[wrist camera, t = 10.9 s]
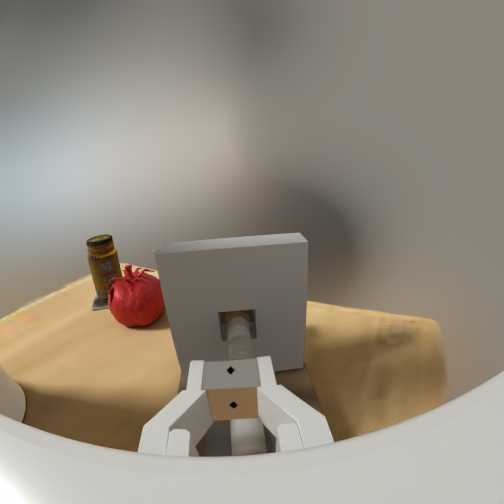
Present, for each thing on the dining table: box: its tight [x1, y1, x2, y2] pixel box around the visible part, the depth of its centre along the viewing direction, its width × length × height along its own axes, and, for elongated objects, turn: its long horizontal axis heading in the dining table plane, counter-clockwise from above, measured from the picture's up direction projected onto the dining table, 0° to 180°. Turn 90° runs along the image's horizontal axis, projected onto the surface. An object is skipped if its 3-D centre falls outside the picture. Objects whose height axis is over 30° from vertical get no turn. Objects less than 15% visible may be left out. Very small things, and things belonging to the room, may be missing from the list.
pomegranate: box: [108, 265, 165, 327], centre depth 41 cm, size 10×10×9 cm
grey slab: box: [155, 233, 308, 378], centre depth 27 cm, size 3×13×14 cm, turn 95°
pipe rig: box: [178, 309, 323, 457], centre depth 24 cm, size 24×14×9 cm, turn 5°
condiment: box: [87, 235, 122, 310], centre depth 47 cm, size 7×8×12 cm
